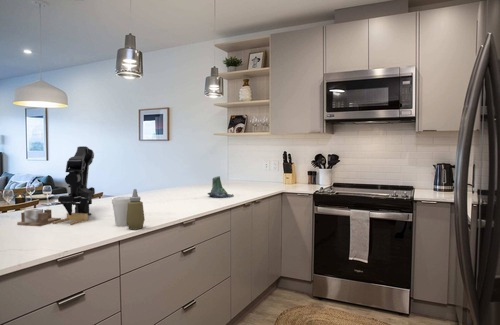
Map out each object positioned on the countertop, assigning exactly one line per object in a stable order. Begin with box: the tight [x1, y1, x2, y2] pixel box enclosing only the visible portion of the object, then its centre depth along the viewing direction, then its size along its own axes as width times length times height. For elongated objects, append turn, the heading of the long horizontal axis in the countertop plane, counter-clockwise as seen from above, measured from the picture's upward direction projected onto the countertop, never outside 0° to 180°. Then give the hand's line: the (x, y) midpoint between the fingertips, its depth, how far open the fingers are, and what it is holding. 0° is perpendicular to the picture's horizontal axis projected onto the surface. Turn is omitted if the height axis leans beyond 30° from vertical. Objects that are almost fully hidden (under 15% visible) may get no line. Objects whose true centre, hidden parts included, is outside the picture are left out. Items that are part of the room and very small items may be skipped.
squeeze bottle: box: [126, 188, 145, 230], centre depth 154 cm, size 8×8×18 cm
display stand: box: [16, 208, 62, 227], centre depth 166 cm, size 13×13×7 cm
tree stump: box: [207, 176, 234, 199], centre depth 255 cm, size 18×20×18 cm
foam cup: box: [111, 196, 131, 227], centre depth 161 cm, size 10×9×13 cm
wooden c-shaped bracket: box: [52, 212, 89, 226], centre depth 167 cm, size 11×11×4 cm
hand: (77, 213), depth 172 cm, fingers open, 9 cm apart
